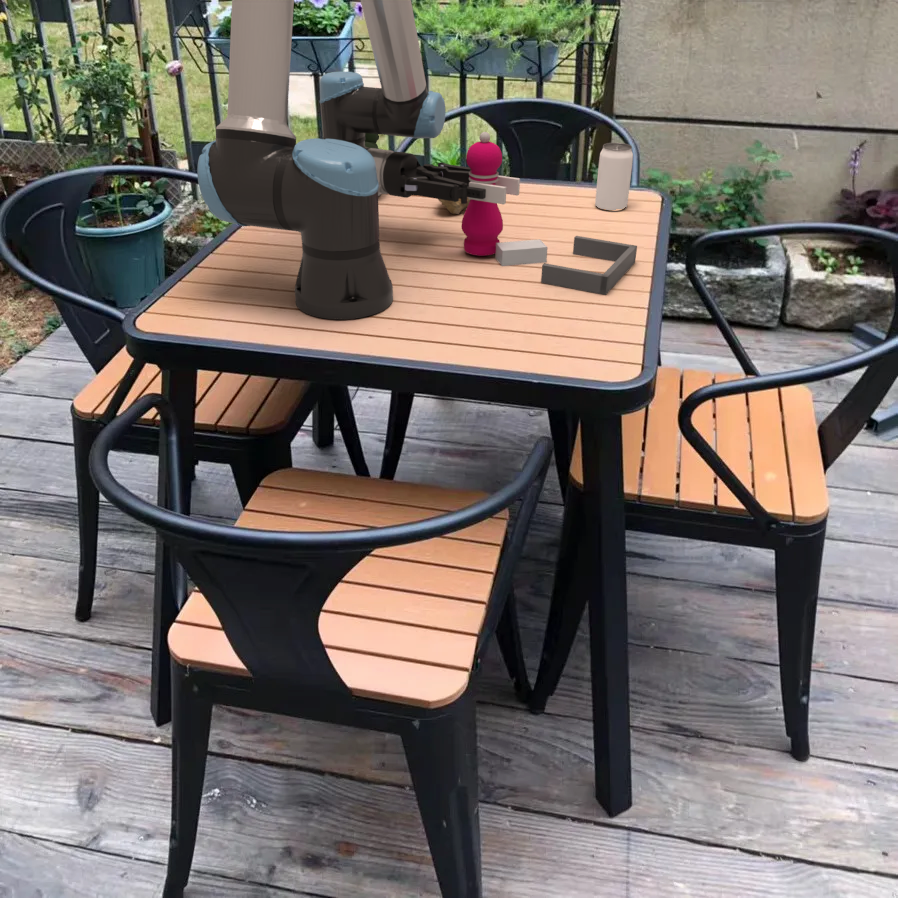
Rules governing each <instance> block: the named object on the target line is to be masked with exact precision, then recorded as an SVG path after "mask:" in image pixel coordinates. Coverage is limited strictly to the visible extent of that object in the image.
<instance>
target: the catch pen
mask: <svg viewBox="0 0 898 898" xmlns="http://www.w3.org/2000/svg"><path fill="white" fill-rule="evenodd" d="M637 250H638V245H634V244H629V243H628V244H627V243H622V242H617V241H610V240H604V239H599V238H594V237H593V238H592V237H587V236H581V235H580V236H579V235H575V236H574V238H573V249H572V254H573V255H577V256H584V257H589V258H595V259H600V260H605V261H606V260H607V261H612V262H613V263H612V264H611V266H609V268H607V270H605V272H603V273H601V272H596V271H595V272H594V271H591V270H590V271H589V270H584V269H580V268H573V267H569V266H568V267H567V266H563V265H556V264H553V263H552V264H551V263H547V262H545V263H542V266H541V278H540V283H541V284H546V285H551V286H555V287H561V288H566V289H567V288H568V289H572V290H573V289H574V290H576V291H577V290H578V291H583V292H589V293H593V294H599V295H603V296H604V295H605V296H606V295H607V294H608V293H609V292H610V291H611V290H612V288H614V286H615V285H616V284H617V283H618V282H620V280H621V279H622V278H623V277H624V275H625V274H626V273H627V272H628V271H629V270H630V269H631V268H632V266H634V264H635V263H636V257H637Z"/></svg>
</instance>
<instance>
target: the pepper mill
mask: <svg viewBox="0 0 898 898" xmlns="http://www.w3.org/2000/svg"><path fill="white" fill-rule="evenodd" d="M490 140H491V134H490V133H489V132H487V131H483V132H481V133H480V134H479V141H477V142H474V143H473V144H471V145H470V146H469V147H468V150H467V152H466V159H465V160H466V165H467V167H470V169H471V171H470V172H469V175H470V176H469V181H471V182H476V183H483V184H490V185H495V184H496V182H497V181H498V180H499V179H498V175H499V171H497V170H498V169H499V168H500V167H501V165H502V163H503V153H502V151H501V148H500V146H498V145H497V144H496V143H494V142H492V141H490ZM499 176H500V175H499ZM498 205H499V204H498V203H491V202H485V201H478V200H472V199H470V202H469V204H468V207H467V208H466V209H465V211H464V213H463V216H462V219H461V229H462V230H461V231H462V232H463V233H464V235H465V236H466V237H465V238H464V240H463V250H464V251H465V252H466V253H467V254H470V255H473V256H482V257H483V256H486V257H487V256H491V255H496V243H501V241H500V239H499V238H498V237H499V236H500V234H501V233H502V231H503V230H504V221H503V220H504V219H503V217H502V213H501V210H500V208H499V206H498Z"/></svg>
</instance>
